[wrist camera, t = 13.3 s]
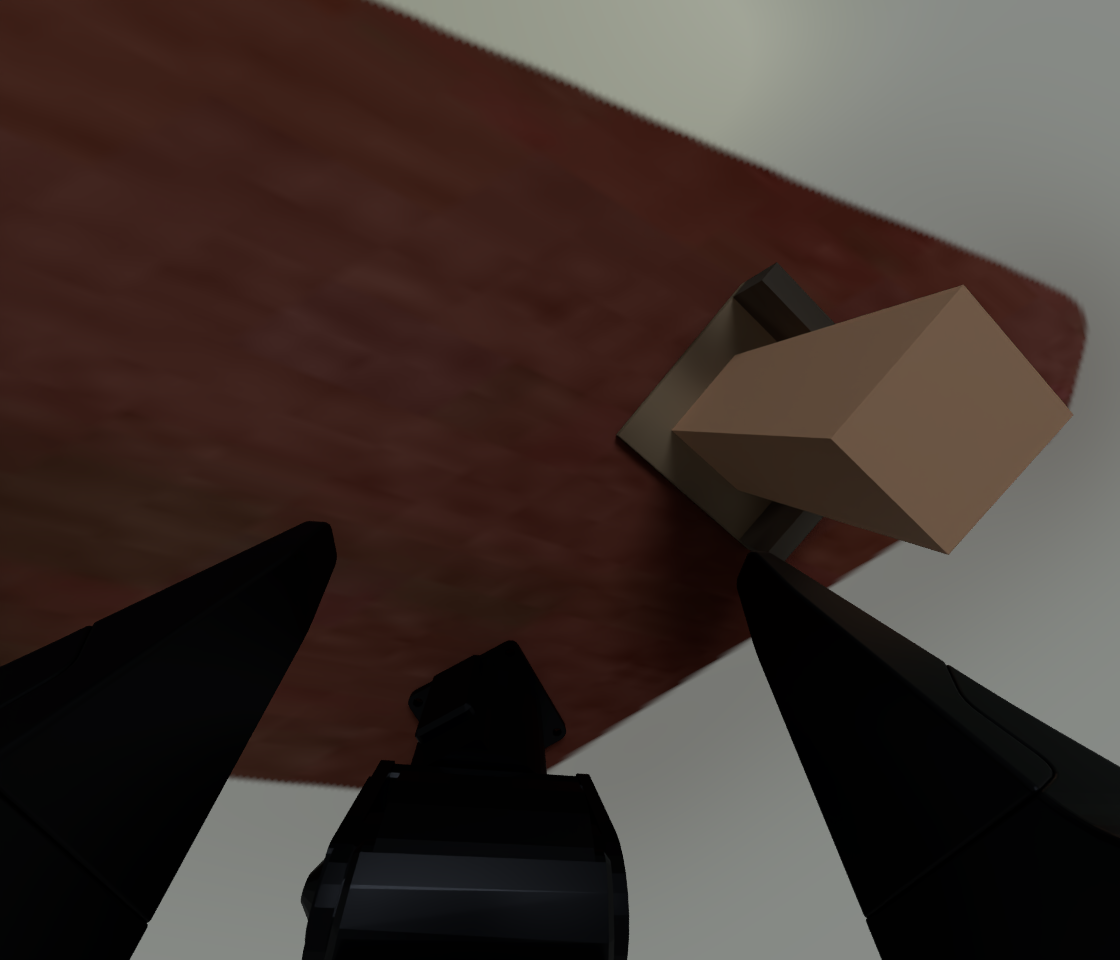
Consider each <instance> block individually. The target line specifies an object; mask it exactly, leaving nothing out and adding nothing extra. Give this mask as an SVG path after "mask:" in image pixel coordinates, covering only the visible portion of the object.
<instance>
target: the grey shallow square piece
mask: <svg viewBox="0 0 1120 960" xmlns="http://www.w3.org/2000/svg"><path fill="white" fill-rule="evenodd" d="M831 325H835V323H834V322H833V321H832V320H831V319H830V318H829V317H828V316H827V315H826V314H825V313H824V312H823V311H822V310H821V309H820V308H819V306H818V305H817V304H816V303H815V302H814V301H813V300H812V299H811V298H810V297H809V296H808V295H807V294H806V293H805V292H804V291H803V290H802V288H801V287H800V286H799V285H798V284H797V283H796V282H795V281H794V280H793V279H792V278H791V277H790V276H789V275H788V274H787V273H786V272H785V270H784V269H783V268H782V267H781V266H780V265H779V264H778V263H775V264H773V265H772V266H770V267H769V268H767V269H765V270H764V271H762V272H760V273H759V274H757V275H756V276H754V277H752V278H751V279H749V280H747V281H746V282H744V283H743V284H741V285H740V287H739V288H738V289H737V290H736V291H735V293H734V294H733V295H732V296H731V297H730V299H729V300H728V301H727V302H726V303H725V305H724V306H723V307H722V308H721V309H720V311H719V312H718V313H717V314H716V315H715V317H714V318H713V319H712V320H711V321H710V323H709V324H708V325H707V326H706V327H705V329H704V330H703V331H702V332H701V333H700V335H699V336H698V337H697V338H696V339H695V341H694V342H693V343H692V344H691V345H690V347H689V348H688V349H687V350H686V351H685V353H684V354H683V355H682V356H681V357H680V359H679V360H678V361H677V362H676V363H675V365H674V366H673V367H672V368H671V369H670V371H669V372H668V373H667V374H666V375H665V377H664V378H663V379H662V380H661V381H660V383H659V384H658V385H657V386H656V387H655V389H654V390H653V391H652V392H651V393H650V395H649V396H648V397H647V398H646V400H645V401H644V402H643V403H642V404H641V406H640V407H639V408H638V409H637V410H636V412H635V413H634V414H633V415H632V416H631V418H630V419H629V420H628V421H627V422H626V424H625V425H624V426H623V427H622V428H621V430H620V431H619V432H618V433H617V434H616V435H617V436H618V437H619V438H620V439H622V440H623V441H624V442H625V443H626V444H627V445H629V446H630V447H631V448H632V449H633V450H634V451H635V452H637V453H638V454H639V455H640V456H641V457H642V458H643V459H645V460H646V461H647V462H648V463H649V464H650V465H652V466H653V467H654V468H655V469H656V470H657V471H658V472H660V473H661V474H662V475H663V476H664V477H665V478H666V479H668V480H669V481H670V482H671V483H672V484H673V485H675V486H676V487H677V488H678V489H679V490H680V491H681V492H683V493H684V494H685V495H686V496H687V497H688V498H690V499H691V500H692V501H693V502H694V503H695V504H696V505H698V506H699V507H700V508H701V509H702V510H703V511H704V512H706V513H707V514H708V515H709V516H710V517H711V518H713V519H714V520H715V521H716V522H717V523H718V524H719V525H721V526H722V527H723V528H724V529H725V530H726V531H727V532H729V533H730V534H731V535H732V536H733V537H734V538H736V539H737V540H738V541H739V542H740V543H741V544H742V545H744V546H745V547H746V548H747V549H749V550H751V551H764V552H770V553H772V554H774V555H775V556H777V557H778V558H780V559H782V560H783V561H785V560H786V559H787V558H788V556H789V555H790V554H791V553H792V552H793V551H794V550H795V548H796V547H797V546H798V545H799V544H800V543H801V541H802V540H803V539H804V538H805V537H806V536H807V535H808V533H809V532H810V531H811V530H812V529H813V528H814V527H815V525H816V524H817V523H818V522H819V521H820V520H821V518H822V517H823V516H820V515H817V514H814V513H811V512H807V511H804V510H801V509H798V508H794V507H791V506H788V505H785V504H781V503H778V502H775V501H772V500H768V499H765V498H762V497H759V496H755V495H752V494H749V493H746V492H742V491H739V490H737V489H736V488H735V487H734V486H733V485H732V484H730V483H729V482H728V481H727V480H726V479H725V478H724V477H723V476H722V475H720V474H719V473H718V472H717V471H716V470H715V469H714V468H713V467H712V466H710V465H709V464H708V463H707V462H706V461H705V460H704V459H703V458H702V457H701V456H699V455H698V454H697V453H696V452H695V451H694V450H693V449H692V448H691V447H689V446H688V445H687V444H686V443H685V442H684V441H683V440H682V439H681V438H679V437H678V436H677V435H676V434H675V433H674V432H673V431H672V429H673V428H674V427H675V426H676V424H677V423H678V422H679V421H680V420H681V418H682V417H683V416H684V415H685V414H686V412H687V411H688V410H689V409H690V408H691V407H692V405H693V404H694V403H695V402H696V401H697V399H698V398H699V397H700V396H701V395H702V393H703V392H704V391H705V390H706V389H707V388H708V386H709V385H710V384H711V383H712V382H713V380H714V379H715V378H716V377H717V376H718V375H719V373H720V372H721V371H722V370H723V369H724V367H725V366H726V365H727V364H728V363H729V361H730V360H731V359H732V358H733V357H734V356H735V355H737V354H740V353H744V352H747V351H750V350H753V349H757V348H760V347H763V346H766V345H770V344H773V343H776V342H779V341H783V340H786V339H789V338H792V337H796V336H799V335H802V334H805V333H809V332H812V331H815V330H818V329H822V328H825V327H828V326H831Z"/></svg>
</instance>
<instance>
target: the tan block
mask: <svg viewBox="0 0 1120 960" xmlns="http://www.w3.org/2000/svg"><path fill="white" fill-rule="evenodd" d="M1072 416H1073V414H1072V413H1071V411H1070V410H1069V409H1068V408H1067V407H1066V405H1065V404H1064V403H1063V402H1062V401H1061V400H1060V398H1059V397H1058V396H1057V395H1056V394H1055V392H1054V391H1053V390H1052V389H1051V388H1050V387H1049V385H1048V384H1047V383H1046V382H1045V381H1044V379H1043V378H1042V377H1041V376H1040V375H1039V374H1038V372H1037V371H1036V370H1035V369H1034V368H1033V366H1032V365H1031V364H1030V363H1029V362H1028V361H1027V359H1026V358H1025V357H1024V356H1023V355H1022V353H1021V352H1020V351H1019V350H1018V349H1017V348H1016V346H1015V345H1014V344H1013V343H1012V342H1011V340H1010V339H1009V338H1008V337H1007V336H1006V335H1005V333H1004V332H1003V331H1002V330H1001V329H1000V327H999V326H998V325H997V324H996V323H995V322H994V320H993V319H992V318H991V317H990V316H989V314H988V313H987V312H986V311H985V310H984V309H983V307H982V306H981V305H980V304H979V303H978V301H977V300H976V299H975V298H974V297H973V296H972V294H971V293H970V292H969V291H968V290H967V288H966V287H965V286H964V285H961V286H958V287H955V288H952V289H948V290H945V291H942V292H939V293H935V294H932V295H929V296H926V297H922V298H919V299H916V300H913V301H909V302H906V303H903V304H900V305H896V306H893V307H890V308H887V309H883V310H880V311H877V312H874V313H870V314H867V315H864V316H861V317H857V318H854V319H851V320H848V321H844V322H841V323H838V324H835V325H831V326H828V327H825V328H822V329H818V330H815V331H812V332H809V333H805V334H802V335H799V336H796V337H792V338H789V339H786V340H783V341H779V342H776V343H773V344H770V345H766V346H763V347H760V348H757V349H753V350H750V351H747V352H744V353H740V354H737V355H735V356H734V357H733V358H732V359H731V360H730V361H729V363H728V364H727V365H726V366H725V367H724V369H723V370H722V371H721V372H720V373H719V375H718V376H717V377H716V378H715V379H714V380H713V382H712V383H711V384H710V385H709V386H708V388H707V389H706V390H705V391H704V392H703V393H702V395H701V396H700V397H699V398H698V399H697V401H696V402H695V403H694V404H693V405H692V407H691V408H690V409H689V410H688V411H687V412H686V414H685V415H684V416H683V417H682V418H681V420H680V421H679V422H678V423H677V424H676V426H675V427H674V428H673V429H672V431H673V432H674V433H675V434H676V435H677V436H678V437H679V438H681V439H682V440H683V441H684V442H685V443H686V444H687V445H688V446H689V447H691V448H692V449H693V450H694V451H695V452H696V453H697V454H698V455H699V456H701V457H702V458H703V459H704V460H705V461H706V462H707V463H708V464H709V465H710V466H712V467H713V468H714V469H715V470H716V471H717V472H718V473H719V474H720V475H722V476H723V477H724V478H725V479H726V480H727V481H728V482H729V483H730V484H732V485H733V486H734V487H735V488H736V489H737V490H739V491H742V492H746V493H749V494H752V495H755V496H759V497H762V498H765V499H768V500H772V501H775V502H778V503H781V504H785V505H788V506H791V507H794V508H798V509H801V510H804V511H807V512H811V513H814V514H817V515H820V516H824V517H827V518H830V519H834V520H837V521H840V522H843V523H847V524H850V525H853V526H856V527H860V528H863V529H866V530H869V531H873V532H876V533H879V534H882V535H886V536H889V537H892V538H895V539H899V540H902V541H905V542H908V543H912V544H915V545H918V546H922V547H925V548H928V549H931V550H934V551H938V552H941V553H944V554H948V555H949V554H950V553H951V551H952V550H953V549H954V548H955V547H956V546H957V545H958V544H959V542H960V541H961V540H962V539H963V538H964V537H965V536H966V535H967V534H968V532H969V531H970V530H971V529H972V528H973V527H974V526H975V525H976V523H977V522H978V521H979V520H980V519H981V518H982V517H983V516H984V514H985V513H986V512H987V511H988V510H989V509H990V508H991V506H993V504H994V503H995V502H996V501H997V500H998V499H999V498H1000V496H1001V495H1002V494H1003V493H1004V492H1005V491H1006V490H1007V489H1008V487H1009V486H1010V485H1011V484H1012V483H1013V482H1014V481H1015V480H1016V479H1017V477H1018V476H1019V475H1020V474H1021V473H1022V472H1023V471H1024V470H1025V469H1026V467H1027V466H1028V465H1029V464H1030V463H1031V462H1032V461H1033V460H1034V458H1035V457H1036V456H1037V455H1038V454H1039V453H1040V452H1041V451H1042V449H1043V448H1044V447H1045V446H1046V445H1047V444H1048V443H1049V442H1050V441H1051V439H1052V438H1053V437H1054V436H1055V435H1056V434H1057V433H1058V432H1059V430H1060V429H1061V428H1062V427H1063V426H1064V425H1065V424H1066V423H1067V421H1068V420H1069V419H1070V418H1071V417H1072Z"/></svg>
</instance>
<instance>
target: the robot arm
mask: <svg viewBox="0 0 1120 960" xmlns="http://www.w3.org/2000/svg"><path fill="white" fill-rule="evenodd" d="M336 560H337V553H336V548H335V543H334V538H333V533H332V529H331V526H330V524H328V523H327V522H316V521H307V522H304V523H302V524H300V525H298V526H296V527H293V528H291V529H289V530H287V531H285V532H283V533H281V534H279V535H277V536H275V537H273V538H270V539H268V540H266V541H264V542H262V543H260V544H258V545H256V546H254V547H252V548H250V549H247V550H245V551H243V552H241V553H239V554H237V555H235V556H233V557H231V558H229V559H227V560H224V561H222V562H220V563H218V564H216V565H214V566H212V567H210V568H208V569H206V570H204V571H201V572H199V573H197V574H195V575H193V576H191V577H189V578H187V579H185V580H183V581H181V582H178V583H176V584H174V585H172V586H170V587H168V588H166V589H164V590H162V591H160V592H158V593H156V594H153V595H151V596H149V597H147V598H145V599H143V600H141V601H139V602H137V603H135V604H133V605H130V606H128V607H126V608H124V609H122V610H120V611H118V612H116V613H114V614H112V615H110V616H107V617H105V618H103V619H101V620H99V621H97V622H95V623H94V624H93V626H86V627H84V628H82V629H80V630H78V631H76V632H74V633H72V634H70V635H68V636H66V637H63V638H61V639H59V640H57V641H55V642H53V643H51V644H49V645H47V646H44V647H42V648H40V649H38V650H36V651H34V652H31V653H29V654H27V655H25V656H23V657H21V658H19V659H16V660H14V661H12V662H10V663H8V664H6V665H3V666H1V667H0V960H130V958H131V956H132V954H133V953H134V951H135V949H136V947H137V945H138V943H139V941H140V940H141V938H142V936H143V934H144V932H145V931H146V929H147V926H148V924H147V923H148V922H149V921H150V920H151V919H152V917H153V915H154V913H155V911H156V910H157V908H158V906H159V904H160V902H161V900H162V898H163V897H164V895H165V893H166V891H167V889H168V888H169V886H170V884H171V882H172V880H173V878H174V877H175V875H176V873H177V871H178V869H179V867H180V866H181V864H182V862H183V860H184V858H185V856H186V854H187V853H188V851H189V849H190V847H191V845H192V844H193V842H194V840H195V838H196V836H197V834H198V832H199V830H200V829H201V827H202V825H203V823H204V822H205V819H206V818H207V816H208V814H209V812H210V811H211V809H212V807H213V805H214V803H215V801H216V800H217V798H218V796H219V794H220V792H221V790H222V788H223V787H224V785H225V783H226V781H227V779H228V778H229V776H230V774H231V772H232V770H233V768H234V767H235V765H236V763H237V761H238V759H239V757H240V755H241V754H242V752H243V750H244V748H245V746H246V744H247V743H248V741H249V739H250V737H251V735H252V733H253V732H254V730H255V728H256V726H257V724H258V722H259V721H260V719H261V717H262V715H263V713H264V711H265V710H266V708H267V706H268V704H269V702H270V700H271V699H272V697H273V695H274V693H275V691H276V689H277V688H278V686H279V684H280V682H281V680H282V678H283V677H284V675H285V673H286V671H287V669H288V667H289V666H290V664H291V662H292V660H293V658H294V656H295V655H296V653H297V651H298V649H299V647H300V645H301V644H302V642H303V640H304V638H305V636H306V634H307V632H308V630H309V628H310V625H311V623H312V621H313V619H314V616H315V614H316V611H317V609H318V606H319V604H320V601H321V599H322V596H323V594H324V592H325V589H326V587H327V584H328V582H329V579H330V577H331V574H332V572H333V569H334V567H335V564H336ZM737 590H738V593H739V597H740V600H741V604H742V607H743V610H744V614H745V617H746V621H747V624H748V627H749V631H750V634H751V638H752V641H753V644H754V647H755V650H756V653H757V656H758V658H759V661H760V663H761V666H762V668H763V671H764V673H765V676H766V678H767V680H768V683H769V685H770V688H771V690H772V693H773V695H774V697H775V700H776V702H777V705H778V707H779V710H780V712H781V715H782V717H783V719H784V722H785V724H786V727H787V729H788V731H789V734H790V736H791V739H792V741H793V744H794V746H795V749H796V751H797V753H798V756H799V758H800V761H801V763H802V766H803V768H804V771H805V773H806V775H807V778H808V780H809V782H810V785H811V788H812V790H813V792H814V795H815V797H816V800H817V802H818V804H819V807H820V810H821V812H822V814H823V817H824V819H825V822H826V824H827V826H828V829H829V831H830V834H831V836H832V839H833V841H834V844H835V846H836V849H837V851H838V853H839V856H840V858H841V861H842V863H843V866H844V868H845V870H846V873H847V875H848V878H849V880H850V883H851V885H852V887H853V890H854V892H855V895H856V897H857V900H858V902H859V905H860V907H861V909H862V912H863V914H864V916H865V917H866V918H867V919H866V922H867V925H868V927H869V930H870V932H871V934H872V937H873V939H874V942H875V944H876V947H877V949H878V952H879V954H880V957H881V958H882V960H1120V767H1119V766H1118V765H1116V764H1114V763H1112V762H1111V761H1109V760H1107V759H1105V758H1104V757H1102V756H1100V755H1098V754H1097V753H1095V752H1093V751H1092V750H1090V749H1088V748H1086V747H1085V746H1083V745H1081V744H1079V743H1077V742H1076V741H1074V740H1072V739H1071V738H1069V737H1067V736H1066V735H1064V734H1062V733H1060V732H1059V731H1057V730H1055V729H1053V728H1052V727H1050V726H1048V725H1047V724H1045V723H1043V722H1041V721H1040V720H1038V719H1036V718H1035V717H1033V716H1031V715H1030V714H1028V713H1026V712H1024V711H1023V710H1021V709H1019V708H1018V707H1016V706H1014V705H1012V704H1011V703H1009V702H1008V701H1006V700H1004V699H1003V698H1001V697H1000V696H997V695H996V694H995V693H993V692H991V691H990V690H988V689H987V688H985V687H983V686H982V685H980V684H978V683H977V682H975V681H974V680H972V679H970V678H969V677H967V676H966V675H964V674H962V673H961V672H959V671H958V670H956V669H954V668H953V667H951V666H950V665H946V664H945V663H944V662H943V661H941V660H940V659H939V658H937V657H935V656H934V655H932V654H930V653H929V652H927V651H926V650H924V649H923V648H921V647H920V646H918V645H916V644H915V643H913V642H912V641H910V640H908V639H907V638H905V637H904V636H902V635H901V634H899V633H897V632H896V631H894V630H893V629H891V628H889V627H888V626H886V625H884V624H883V623H881V622H880V621H878V620H877V619H875V618H874V617H872V616H870V615H869V614H867V613H866V612H864V611H862V610H861V609H859V608H858V607H856V606H855V605H853V604H851V603H850V602H848V601H847V600H845V599H843V598H842V597H840V596H839V595H837V594H835V593H834V592H832V591H831V590H829V589H828V588H826V587H824V586H823V585H821V584H820V583H818V582H816V581H815V580H813V579H812V578H810V577H809V576H807V575H805V574H804V573H802V572H801V571H799V570H797V569H796V568H794V567H793V566H791V565H790V564H788V563H786V562H785V561H783V560H782V559H780V558H778V557H777V556H775V555H774V554H772V553H770V552H764V551H751V552H750V553H749V554H748V555H747V557H746V559H745V561H744V564H743V566H742V569H741V571H740V573H739V576H738V578H737ZM507 649H513V650H514V652H513V653H507V652H506V650H507ZM417 698H420V699H421V700H422V702H417V701H416V700H415V699H417ZM408 705H409V707H410V709H411V710H412V712H413V713H414V715H415V716H416V718H417V719H418V721H419V724H418V727H417V730H416V733H415V737H416V739H417V740H418V743H417V746H416V750H415V753H414V756H413V759H412V763H411V765H403V764H395V761H389V760H381V761H380V763H379V765H378V766H377V768H376V770H375V771H374V773H373V775H372V776H371V777H369V778H368V779H367V781H366V783H365V784H364V786H363V788H362V789H361V791H360V793H359V794H358V796H357V798H356V800H355V801H354V803H353V805H352V806H351V808H350V810H349V811H348V813H347V815H346V817H345V818H344V820H343V821H342V823H341V825H340V827H339V828H338V830H337V832H336V833H335V835H334V837H333V838H332V840H331V842H330V845H329V847H328V850H327V853H326V857H325V859H324V860H323V861H322V862H321V863H320V864H319V865H318V866H317V867H316V868H315V869H314V870H313V871H312V872H311V873H310V875H309V877H308V878H307V881H306V883H305V886H304V889H303V892H302V896H301V904H302V906H303V908H304V911H305V914H306V916H307V919H308V923H307V928H306V935H305V946H304V950H303V956H302V960H627V956H628V942H629V905H628V890H627V880H626V872H625V866H624V859H623V854H622V850H621V846H620V842H619V839H618V836H617V834H616V831H615V829H614V827H613V825H612V823H611V820H610V818H609V816H608V814H607V812H606V810H605V808H604V805H603V803H602V801H601V799H600V797H599V795H598V792H597V790H596V788H595V786H594V784H593V782H592V780H591V777H590V775H589V774H576V776H564V775H549V774H547V770H546V759H545V748H546V747H548V746H550V745H551V744H553V743H555V742H557V741H559V740H561V739H562V738H563V737H564V736H565V734H566V728H565V724H564V721H563V720H562V718H561V716H560V715H559V713H558V711H557V710H556V708H555V706H554V704H553V703H552V701H551V699H550V698H549V696H548V694H547V693H546V691H545V689H544V687H543V686H542V684H541V682H540V681H539V679H538V677H537V676H536V674H535V672H534V670H533V669H532V667H531V665H530V664H529V662H528V660H527V659H526V657H525V655H524V653H523V652H522V650H521V648H520V647H519V645H518V644H517V643H516V642H515V641H510V640H509V641H506V642H504V643H502V644H500V645H498V646H497V647H495V648H493V649H491V650H489V651H487V652H485V653H484V654H482V655H473V656H471V657H469V658H467V659H465V660H464V661H462V662H460V663H458V664H456V665H454V666H452V667H451V668H449V669H447V670H445V671H443V672H441V673H439V674H438V675H436V676H434V678H433V681H431V682H430V683H428V684H426V685H424V686H422V687H420V688H418V689H417V690H415V691H414V692H412V694H411V696H410V698H409V701H408ZM556 728H560V730H559V731H554V729H556Z"/></svg>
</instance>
